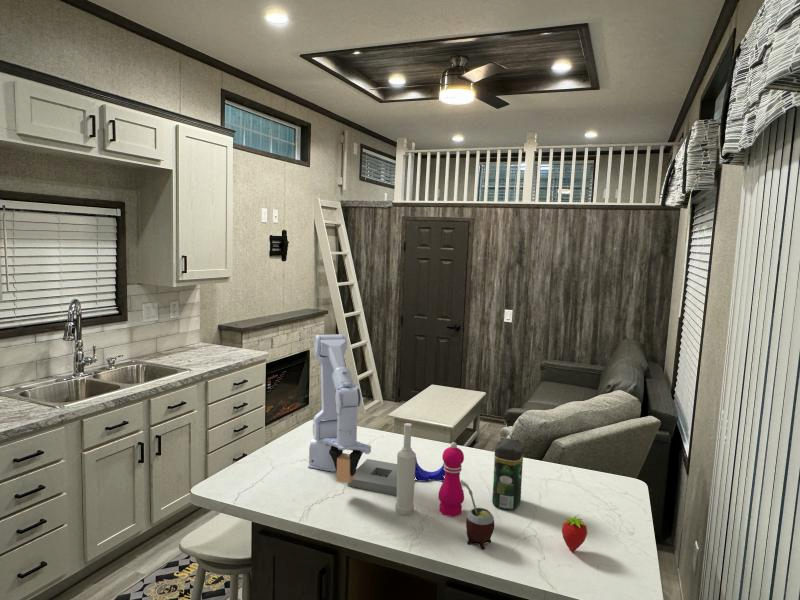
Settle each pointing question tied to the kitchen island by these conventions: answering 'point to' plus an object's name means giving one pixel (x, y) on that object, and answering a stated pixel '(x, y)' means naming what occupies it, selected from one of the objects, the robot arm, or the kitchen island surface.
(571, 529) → the strawberry
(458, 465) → the pepper mill
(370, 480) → the socket plate
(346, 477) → the plug
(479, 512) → the mate gourd
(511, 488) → the coffee jar
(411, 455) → the bottle
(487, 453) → the kitchen island surface
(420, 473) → the cable clip
